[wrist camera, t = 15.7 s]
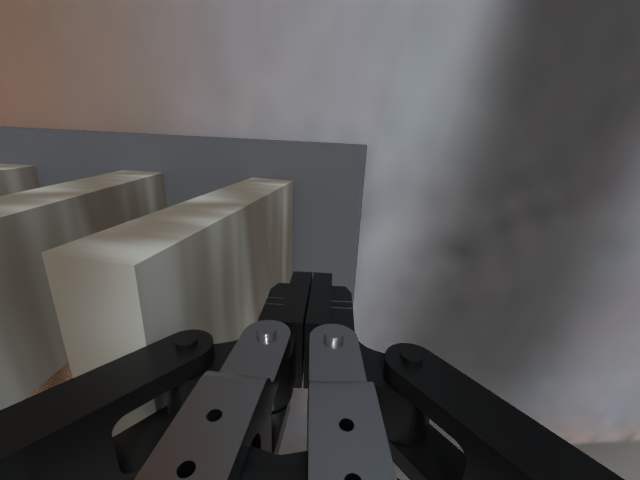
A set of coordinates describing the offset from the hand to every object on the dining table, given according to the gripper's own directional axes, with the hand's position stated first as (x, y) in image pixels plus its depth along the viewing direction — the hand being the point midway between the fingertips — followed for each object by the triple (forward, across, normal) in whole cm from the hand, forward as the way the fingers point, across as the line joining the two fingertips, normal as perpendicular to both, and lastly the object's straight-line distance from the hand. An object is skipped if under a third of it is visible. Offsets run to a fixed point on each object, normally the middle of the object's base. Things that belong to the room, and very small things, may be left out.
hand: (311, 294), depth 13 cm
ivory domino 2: (+7, +3, 0) cm, 7 cm away
